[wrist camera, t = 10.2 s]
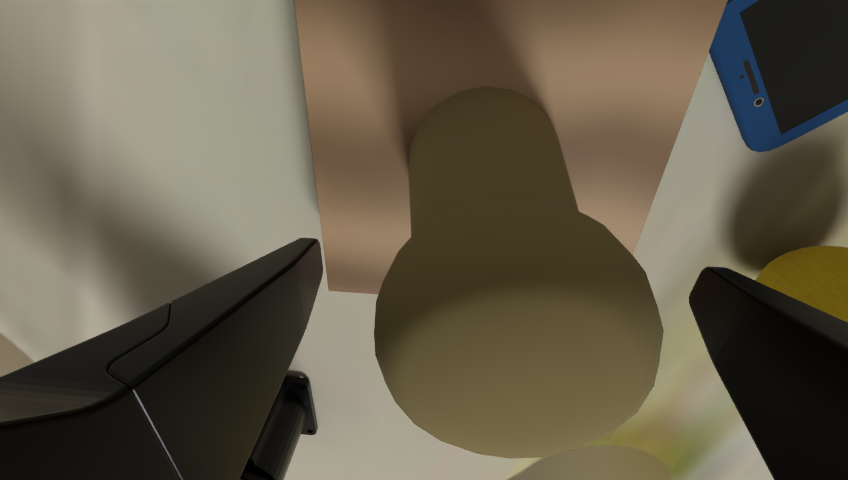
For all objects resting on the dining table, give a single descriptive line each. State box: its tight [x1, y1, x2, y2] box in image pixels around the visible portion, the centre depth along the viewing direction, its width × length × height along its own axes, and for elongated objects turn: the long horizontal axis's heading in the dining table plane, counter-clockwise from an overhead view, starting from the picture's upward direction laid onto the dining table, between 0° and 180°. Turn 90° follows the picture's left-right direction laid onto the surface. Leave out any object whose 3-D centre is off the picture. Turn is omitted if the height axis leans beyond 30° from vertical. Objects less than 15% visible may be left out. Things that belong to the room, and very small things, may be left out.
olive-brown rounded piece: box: [374, 86, 664, 458], centre depth 11 cm, size 6×6×11 cm
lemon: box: [756, 246, 848, 322], centre depth 18 cm, size 6×6×8 cm
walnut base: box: [294, 0, 728, 294], centre depth 17 cm, size 14×14×4 cm
